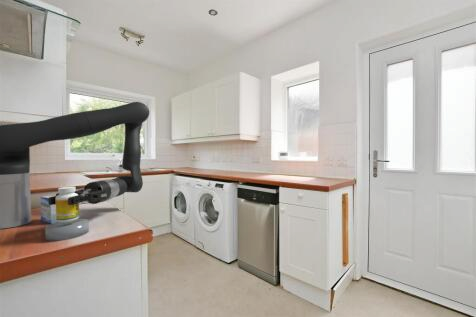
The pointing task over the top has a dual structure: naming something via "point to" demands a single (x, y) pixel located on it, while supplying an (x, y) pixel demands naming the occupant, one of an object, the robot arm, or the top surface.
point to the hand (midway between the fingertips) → (59, 201)
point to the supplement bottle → (66, 205)
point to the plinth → (66, 230)
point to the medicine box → (48, 210)
